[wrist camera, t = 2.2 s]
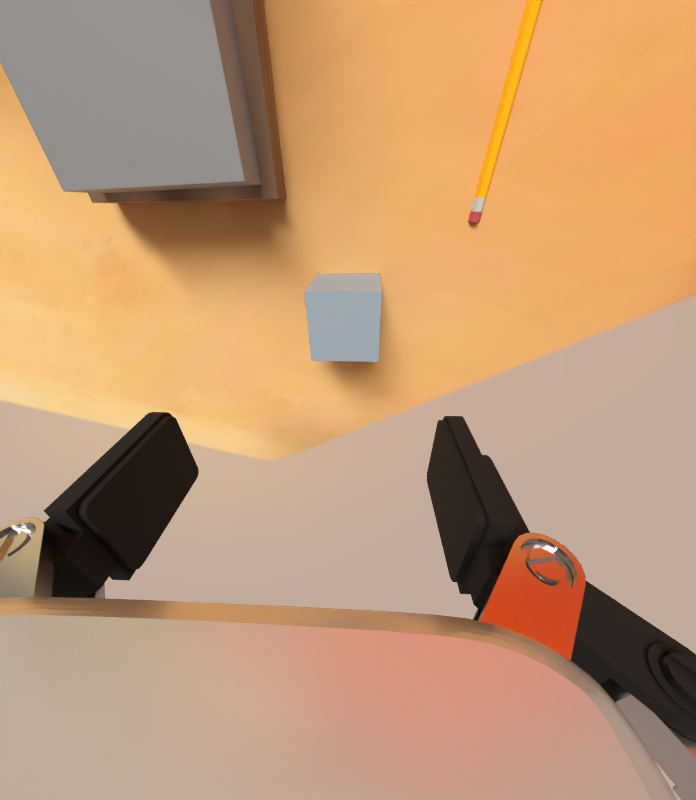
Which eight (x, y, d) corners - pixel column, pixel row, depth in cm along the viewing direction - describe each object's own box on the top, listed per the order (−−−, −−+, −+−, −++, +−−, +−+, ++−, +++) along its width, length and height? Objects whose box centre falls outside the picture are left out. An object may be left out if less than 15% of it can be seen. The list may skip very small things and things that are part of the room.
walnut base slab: (252, -127, 14) (226, -201, 11) (288, 199, 21) (277, 198, 19) (6, -104, 14) (-68, -169, 12) (123, 203, 22) (92, 202, 19)
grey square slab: (207, -138, 12) (165, -228, 10) (261, 184, 18) (244, 180, 16) (-25, -105, 13) (-118, -180, 10) (103, 193, 19) (63, 191, 17)
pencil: (466, 221, 21) (469, 222, 20) (619, -354, 10) (633, -387, 10) (477, 222, 21) (480, 223, 20) (640, -352, 10) (656, -385, 10)
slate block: (379, 273, 23) (381, 291, 18) (376, 332, 26) (378, 361, 21) (318, 273, 23) (304, 291, 18) (322, 331, 26) (311, 360, 21)
